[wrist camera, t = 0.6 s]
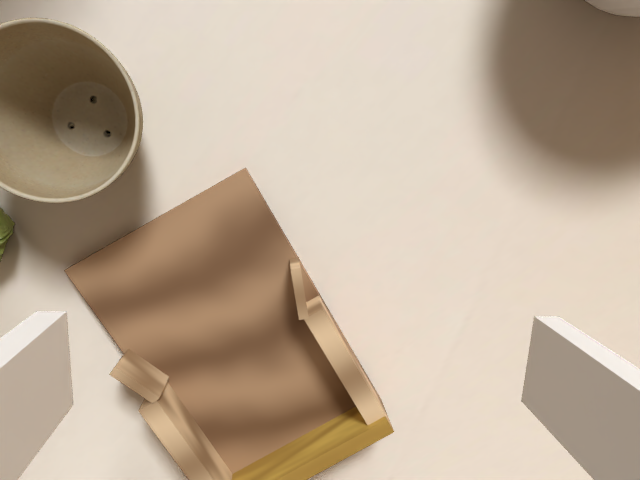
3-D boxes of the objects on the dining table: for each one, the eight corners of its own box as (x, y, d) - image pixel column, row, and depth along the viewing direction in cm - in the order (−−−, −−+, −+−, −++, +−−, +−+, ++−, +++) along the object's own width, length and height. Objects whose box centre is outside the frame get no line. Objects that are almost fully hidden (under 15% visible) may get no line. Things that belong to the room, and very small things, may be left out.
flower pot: (126, 215, 35) (88, 234, 28) (-6, 143, 33) (-82, 144, 26) (192, 95, 34) (170, 83, 27) (58, 13, 32) (-4, -23, 25)
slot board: (68, 267, 35) (38, 286, 31) (247, 166, 35) (242, 170, 30) (224, 485, 40) (217, 527, 36) (382, 399, 40) (395, 431, 35)
